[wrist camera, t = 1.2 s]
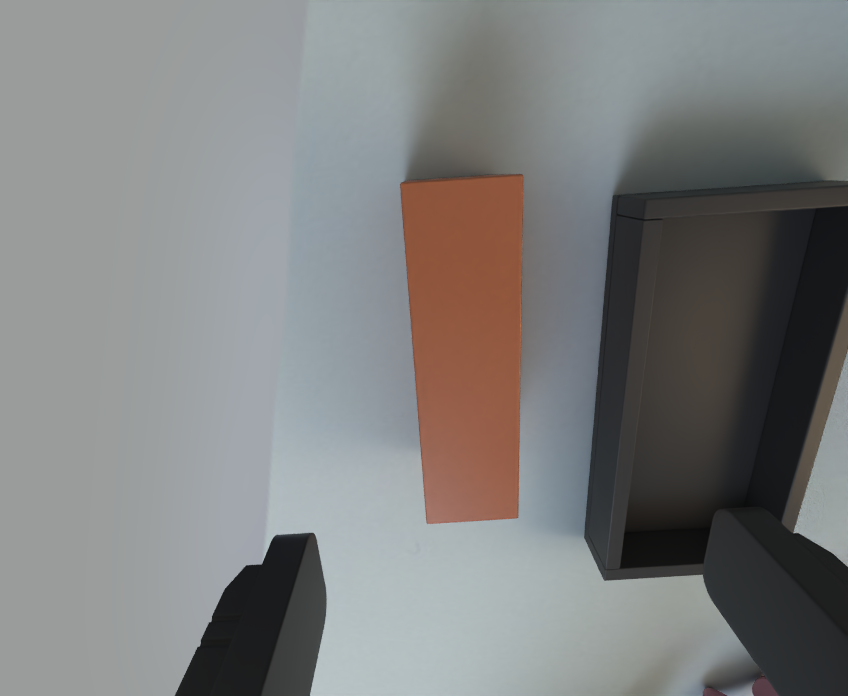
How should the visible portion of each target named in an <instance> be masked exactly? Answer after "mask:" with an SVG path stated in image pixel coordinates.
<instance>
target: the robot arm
mask: <svg viewBox="0 0 848 696" xmlns="http://www.w3.org/2000/svg"><path fill="white" fill-rule="evenodd" d="M703 578H704V582H705V586H706V589H707V591H708V594H709V596H710V598H711V599H712V601H713V603H714V604H715V606H716V607H717V609H718V610H719V611H720V613H721V614H722V616H723V617H724V618H725V620H726V621H727V623H728V624H729V626H730V627H731V628H732V630H733V631H734V633H735V634H736V636H737V637H738V638H739V640H740V641H741V643H742V644H743V646H744V647H745V648H746V650H747V651H748V653H749V654H750V656H751V657H752V658H753V660H754V661H755V663H756V664H757V666H758V667H759V668H760V670H761V671H762V673H763V674H764V675H765V677H766V678H767V680H768V681H769V683H770V684H771V685H772V687H773V688H774V690H775V691H776V693H777V694H778V695H779V696H848V567H847V566H846V565H845V564H844V563H843V562H841V561H840V560H839V559H838V558H837V557H836V556H835V555H834V554H832V553H831V552H829V551H827V550H826V549H824V548H822V547H821V546H819V545H817V544H816V543H814V542H812V541H811V540H809V539H807V538H806V537H804V536H802V535H800V534H799V533H792V532H791V531H789V530H788V529H787V528H786V527H785V526H784V525H783V524H782V523H781V522H780V521H779V520H778V519H777V518H776V517H775V516H774V515H772V514H771V513H770V512H769V511H768V510H766V509H764V508H762V507H745V508H729V509H719V510H717V511H716V512H715V514H714V516H713V520H712V525H711V529H710V534H709V539H708V544H707V549H706V554H705V559H704V564H703ZM325 617H326V587H325V582H324V576H323V571H322V566H321V560H320V555H319V550H318V545H317V540H316V536H315V534H314V533H302V534H286V535H276V536H275V537H274V538H273V539H272V541H271V543H270V546H269V548H268V551H267V553H266V556H265V558H264V561H263V563H262V565H247V566H245V567H244V569H243V570H242V571H241V572H240V573H239V574H238V575H237V576H236V577H235V578H234V580H233V581H232V582H231V583H230V584H229V585H228V586H227V587H226V588H225V590H224V592H223V594H222V596H221V599H220V601H219V603H218V605H217V607H216V609H215V611H214V613H213V616H212V622H210V623H209V624H208V626H207V628H206V631H205V633H204V635H203V637H202V639H201V645H200V647H198V648H197V650H196V652H195V654H194V656H193V658H192V660H191V663H190V665H189V667H188V669H187V671H186V673H185V675H184V678H183V680H182V682H181V684H180V686H179V688H178V690H177V692H176V695H175V696H310V692H311V687H312V682H313V677H314V672H315V668H316V663H317V658H318V653H319V648H320V643H321V639H322V634H323V629H324V624H325Z"/></svg>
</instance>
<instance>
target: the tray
mask: <svg viewBox="0 0 848 696" xmlns="http://www.w3.org/2000/svg"><path fill="white" fill-rule="evenodd" d="M847 350H848V181H816V182H801V183H787V184H772V185H757V186H743V187H728V188H713V189H699V190H684V191H669V192H655V193H640V194H625V195H614V196H613V201H612V213H611V225H610V237H609V249H608V261H607V273H606V285H605V296H604V308H603V320H602V332H601V344H600V356H599V368H598V380H597V392H596V404H595V416H594V428H593V440H592V452H591V464H590V476H589V488H588V500H587V512H586V524H585V536H584V538H585V540H586V542H587V544H588V547H589V549H590V551H591V553H592V555H593V558H594V560H595V562H596V564H597V566H598V568H599V570H600V573H601V575H602V577H603V579H604V580H605V581H606V580H622V579H638V578H655V577H671V576H687V575H703V564H704V559H705V554H706V549H707V544H708V539H709V534H710V529H711V525H712V520H713V516H714V514H715V512H716V511H717V510H719V509H729V508H745V507H762V508H764V509H766V510H768V511H769V512H770V513H771V514H772V515H774V516H775V517H776V518H777V519H778V520H779V521H780V522H781V523H782V524H783V525H784V526H785V527H786V528H787V529H788V530H789V531H791V532H792V533H793V532H794V528H795V525H796V522H797V518H798V515H799V511H800V508H801V505H802V501H803V498H804V495H805V491H806V488H807V485H808V481H809V478H810V475H811V471H812V468H813V464H814V461H815V458H816V454H817V451H818V448H819V444H820V441H821V438H822V434H823V431H824V428H825V424H826V421H827V417H828V414H829V411H830V407H831V404H832V401H833V397H834V394H835V391H836V387H837V384H838V381H839V377H840V374H841V370H842V367H843V364H844V360H845V357H846V354H847Z"/></svg>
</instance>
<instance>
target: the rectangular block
mask: <svg viewBox="0 0 848 696" xmlns="http://www.w3.org/2000/svg"><path fill="white" fill-rule="evenodd" d="M400 189H401V202H402V215H403V228H404V240H405V253H406V266H407V279H408V291H409V304H410V317H411V330H412V343H413V355H414V368H415V381H416V394H417V406H418V419H419V432H420V445H421V458H422V470H423V483H424V496H425V509H426V521H427V524H434V523H450V522H466V521H482V520H498V519H514V518H518V497H519V429H520V362H521V295H522V228H523V175H522V174H498V175H480V176H466V177H451V178H437V179H422V180H407V181H404V182H402V183H401V184H400Z"/></svg>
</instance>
